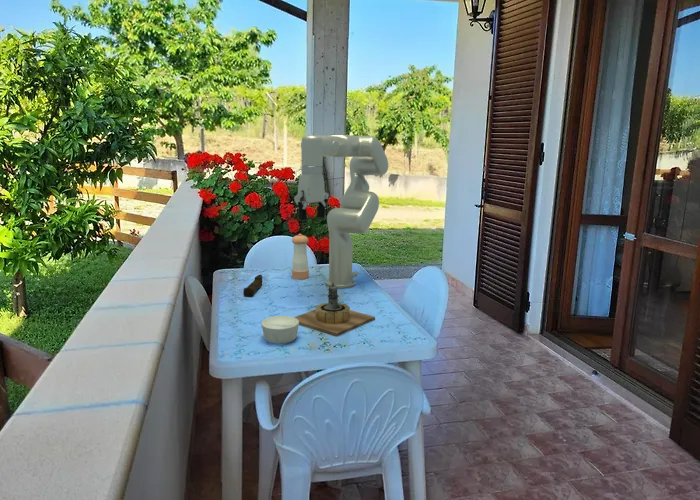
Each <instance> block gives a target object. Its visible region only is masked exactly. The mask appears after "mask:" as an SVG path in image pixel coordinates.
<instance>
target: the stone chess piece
mask: <svg viewBox="0 0 700 500" xmlns="http://www.w3.org/2000/svg"><path fill="white" fill-rule="evenodd" d="M327 298H328V299H327V300H328V302H327V303H328V305H326V306H324V308H325V311H330V312H336V311H341V308H342V306H340V305H338V303H339V300H338V298H339V295H338V288H337V286H336V285H334V283H332V285H330V286H328V294H327Z"/></svg>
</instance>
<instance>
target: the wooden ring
mask: <svg viewBox="0 0 700 500" xmlns="http://www.w3.org/2000/svg"><path fill="white" fill-rule="evenodd" d="M326 305H328V302H323V303H320V304H317V305H316V306H315V310H316V319H317V320H318V321H320V322H323V323H330V324H337V323H343V322H346V321H348V320H349V318H350V310H351V307H350V306H349V305H348V304H345V303H342V302H338V305H340V306H342V308H341V311H336V312H330V311H325V308H324V306H326Z"/></svg>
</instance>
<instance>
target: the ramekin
mask: <svg viewBox="0 0 700 500" xmlns="http://www.w3.org/2000/svg"><path fill="white" fill-rule="evenodd" d="M294 317H295V316H288V315H275V316H274V315H273V316H270V317H267V318H264V319H263V320H261V323H260V324H261V325H260V326H261V328H262V329H261V330H262V332H263V338H264V340H265V341H267V343H268V342H269V343H270V344H276V345H281V344H283V345H285V344H288V343H291V342H294V341H295V340H296V339H297V337H298V331H299V330H298V329H299V326H300V325H299V321H298V319H296V318H294Z"/></svg>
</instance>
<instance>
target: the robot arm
mask: <svg viewBox="0 0 700 500" xmlns="http://www.w3.org/2000/svg"><path fill="white" fill-rule="evenodd" d="M300 148H301V174H300V176H299V178H298V184H297V185H298V186H297V194H296V195H295V196H293V200H294V202H295V205H296V206H297V209H298V220H299V221H307V213H308V210H307V206H308V204H316V203H317V206H316V211H317V212H316V217H318V218H326V224H327V229H328V238H329V239H328V241H329V244H328V245H329V246H328V247H329V249H328V251H329V252H328V255H329V256H328V263H329V264H328V271H329V272H328V278H327V279H326V280H325V283H324V284H325V285H326V286H327V287H329V286H330V285H332V283H334V285H336V286H337V289H347V288H353V287H355V286H356V283H357V282H356V280H355V279H354V278H356V277H358V276H359V272H357V271H353V250H354V249H353V248H354V247H353V246H354V245H353V239H352V237H351V235H350V234H358V235H359V234H360V235H361V234H365V233H366V232H367V231H368V230H369V229H370V227H371V224H372V223H373V220H374V219H375V217H376V215H377V213H378V210H379V207H380V199H379V196H378V194H377V193H375V192H373V191H370V184H369V182H368V180H367V179H366V177H365V176H383V175H384V176H385V174H386V173H387V172H388V171H389V160H388V158H387V154H386V152H385V151H384V148H383V146H382V143H381V142H380V140H379V139H378V137H376V136H374V135H348V134H347V135H346V134H334V135H333V134H332V135H323V134H322V135H321V134H320V135H319V134H317V135H316V134H314V135H313V134H312V135H311V134H310V135H304V136H302V138H301V142H300ZM323 157H325V158H326V157H328V158H329V157H332V158H334V157H335V158H348V157H349V158H350V157H351V158H350V159H349V163H348V164H349V175H350V176H349V177H350V183H349V185H348V186H347V189H346V191H345V192H344V194H343V196H342V197H341V200H340V205H339V206H340V207H337V208H336V207H335V208H332V209H331V210H329V211H328V213H327V216H326V215H325V208H326V206H327V203H328V199H329V196H330V195H329V193H328V192H326V189H325V179H324V178H325V177H324V175H323V173H324V172H323V170H324V168H323V167H324V166H323V165H324V164H323V160H324V158H323ZM325 216H326V217H325Z"/></svg>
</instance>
